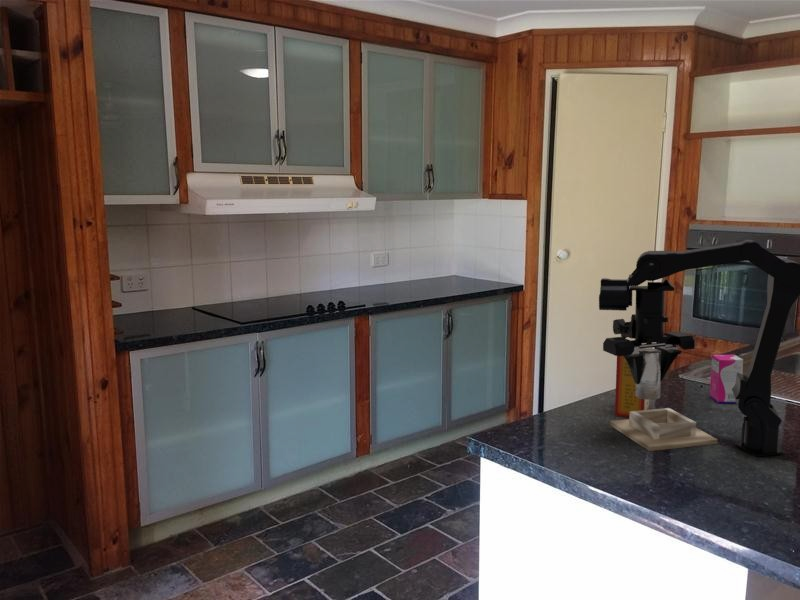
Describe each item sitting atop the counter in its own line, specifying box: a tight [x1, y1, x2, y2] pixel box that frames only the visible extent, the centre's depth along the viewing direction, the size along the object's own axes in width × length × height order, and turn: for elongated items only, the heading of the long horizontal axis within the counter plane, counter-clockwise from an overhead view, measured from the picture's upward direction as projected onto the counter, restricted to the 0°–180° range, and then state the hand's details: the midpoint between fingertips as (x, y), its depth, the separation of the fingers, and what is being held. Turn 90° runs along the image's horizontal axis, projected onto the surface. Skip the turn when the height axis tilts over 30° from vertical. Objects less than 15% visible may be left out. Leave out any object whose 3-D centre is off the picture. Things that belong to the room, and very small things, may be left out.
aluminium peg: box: [635, 347, 662, 401], centre depth 142 cm, size 5×5×10 cm
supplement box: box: [709, 354, 744, 405], centre depth 168 cm, size 6×6×12 cm
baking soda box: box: [614, 356, 651, 418], centre depth 160 cm, size 10×6×16 cm
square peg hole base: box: [609, 407, 719, 452], centre depth 146 cm, size 16×16×4 cm
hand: (648, 382), depth 142 cm, fingers closed on aluminium peg, 5 cm apart
